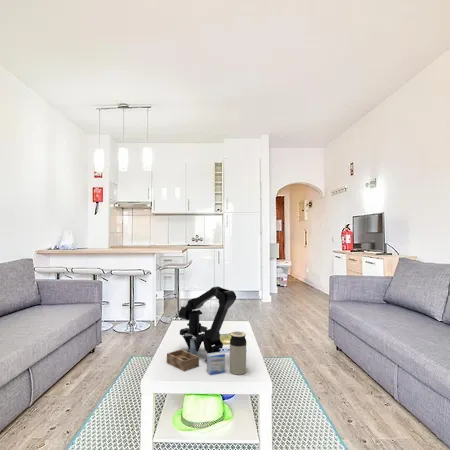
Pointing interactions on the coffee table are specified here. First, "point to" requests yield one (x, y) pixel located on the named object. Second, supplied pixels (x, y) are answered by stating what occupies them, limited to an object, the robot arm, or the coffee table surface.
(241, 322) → the coffee table surface
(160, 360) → the coffee table surface
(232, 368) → the travel mug
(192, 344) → the peg
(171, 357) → the caddy
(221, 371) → the medicine box
